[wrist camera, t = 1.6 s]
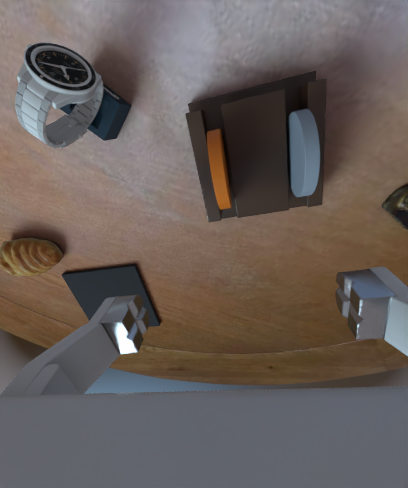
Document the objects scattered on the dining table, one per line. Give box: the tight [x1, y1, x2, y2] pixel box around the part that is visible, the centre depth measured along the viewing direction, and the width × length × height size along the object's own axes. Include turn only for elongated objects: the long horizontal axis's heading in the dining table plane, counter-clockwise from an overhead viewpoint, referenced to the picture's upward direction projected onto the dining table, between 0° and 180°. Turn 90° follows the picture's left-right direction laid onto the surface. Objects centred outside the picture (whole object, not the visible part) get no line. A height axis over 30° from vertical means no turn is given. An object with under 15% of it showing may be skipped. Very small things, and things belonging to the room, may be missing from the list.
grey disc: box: [286, 109, 320, 197], centre depth 23 cm, size 8×1×8 cm, turn 12°
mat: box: [62, 264, 160, 327], centre depth 42 cm, size 14×14×1 cm
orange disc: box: [207, 129, 232, 210], centre depth 24 cm, size 8×1×8 cm, turn 12°
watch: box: [15, 43, 131, 148], centre depth 22 cm, size 6×8×11 cm
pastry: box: [0, 237, 63, 276], centre depth 37 cm, size 9×7×4 cm
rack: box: [186, 71, 327, 222], centre depth 26 cm, size 14×13×4 cm
